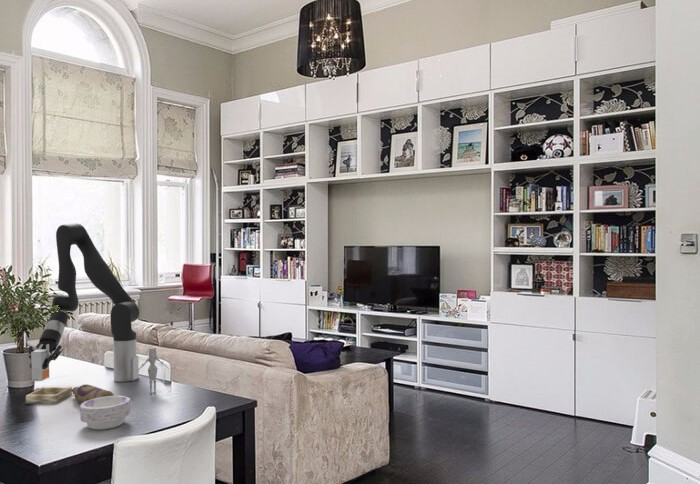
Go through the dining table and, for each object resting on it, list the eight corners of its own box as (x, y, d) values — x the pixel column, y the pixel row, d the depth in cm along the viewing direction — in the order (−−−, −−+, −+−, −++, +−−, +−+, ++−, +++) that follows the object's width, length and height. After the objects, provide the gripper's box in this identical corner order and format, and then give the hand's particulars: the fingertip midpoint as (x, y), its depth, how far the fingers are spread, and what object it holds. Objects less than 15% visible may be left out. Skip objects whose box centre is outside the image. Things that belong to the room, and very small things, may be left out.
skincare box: (42, 381, 237) (40, 351, 237) (31, 381, 237) (30, 352, 237) (50, 377, 243) (48, 348, 243) (40, 377, 243) (38, 349, 243)
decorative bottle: (116, 407, 211) (115, 389, 211) (95, 412, 206) (95, 393, 206) (84, 395, 229) (84, 378, 229) (64, 399, 223) (64, 381, 223)
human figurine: (167, 390, 234) (167, 345, 233) (169, 392, 230) (169, 347, 230) (136, 394, 228) (135, 348, 228) (137, 397, 225) (136, 350, 225)
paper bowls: (80, 422, 195) (80, 398, 195) (129, 415, 201) (129, 392, 201) (79, 436, 181) (79, 410, 181) (132, 429, 187) (131, 404, 187)
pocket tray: (71, 394, 228) (71, 387, 228) (56, 403, 217) (56, 395, 217) (42, 395, 229) (42, 387, 229) (25, 403, 217) (25, 395, 217)
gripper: (32, 328, 248) (16, 363, 236) (65, 327, 247) (51, 362, 235) (39, 339, 253) (24, 373, 241) (72, 338, 253) (58, 372, 241)
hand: (38, 368), depth 238 cm, fingers closed on skincare box, 4 cm apart
